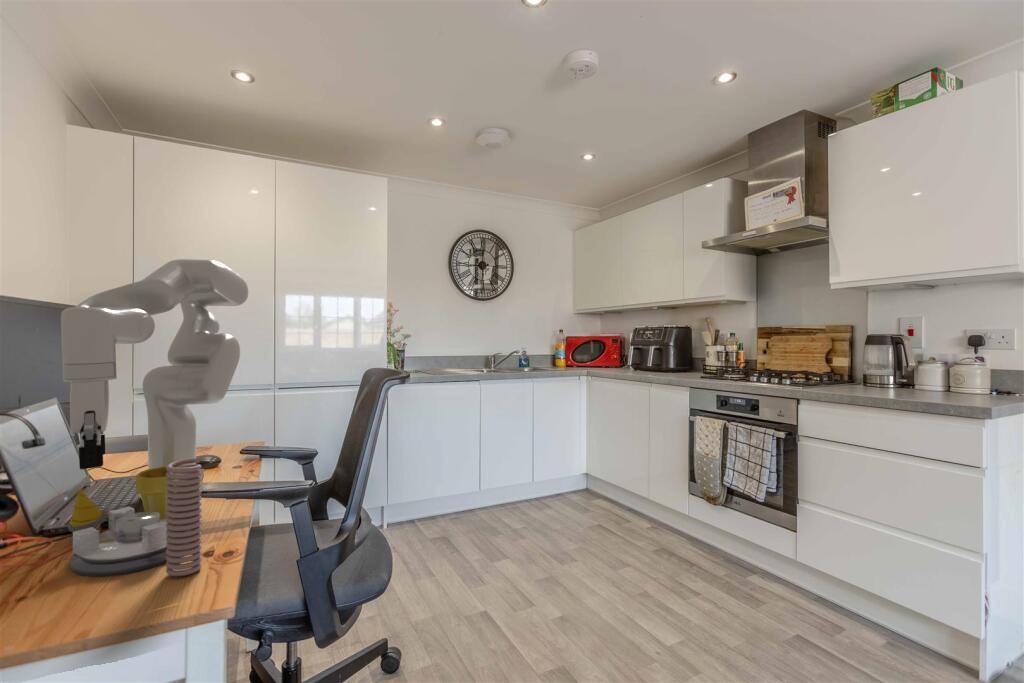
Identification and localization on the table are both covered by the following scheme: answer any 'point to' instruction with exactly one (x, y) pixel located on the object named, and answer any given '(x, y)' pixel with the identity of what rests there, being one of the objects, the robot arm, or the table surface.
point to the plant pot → (153, 489)
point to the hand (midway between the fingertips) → (93, 461)
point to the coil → (183, 517)
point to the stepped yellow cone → (85, 514)
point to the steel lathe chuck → (122, 537)
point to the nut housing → (117, 565)
